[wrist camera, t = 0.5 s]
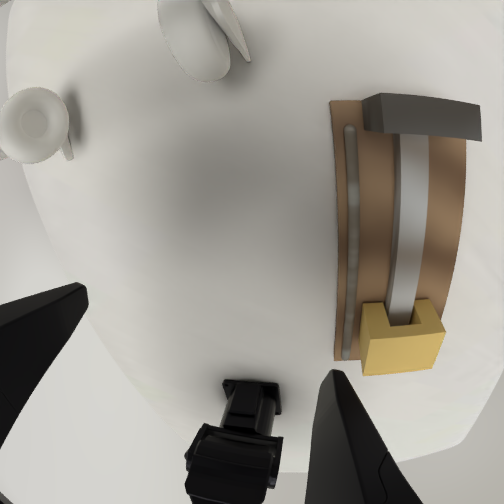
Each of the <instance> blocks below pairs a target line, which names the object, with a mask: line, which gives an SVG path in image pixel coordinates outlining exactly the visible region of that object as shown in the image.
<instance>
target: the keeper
mask: <svg viewBox="0 0 504 504" xmlns="http://www.w3.org/2000/svg"><path fill="white" fill-rule="evenodd" d="M445 333H446V331H445V329H444V327H443V325H442V322H441V320H440V318H439V316H438V314H437V312H436V310H435V308H434V307H433V305H432V303H431V301H430V299H424V300H414V305H413V309H412V314H411V318H410V322H409V325H404V326H392V327H390V324H389V321H388V317H387V314H386V311H385V308H384V304H383V302H382V303H363V306H362V315H361V323H360V331H359V338H358V342H359V349H360V356H361V364H362V373H363V376H371V375H383V374H394V373H403V372H411V371H418V370H425V369H432V367H433V364H434V362H435V360H436V357H437V355H438V352H439V350H440V347H441V344H442V342H443V339H444V336H445Z"/></svg>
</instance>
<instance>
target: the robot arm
mask: <svg viewBox="0 0 504 504" xmlns="http://www.w3.org/2000/svg"><path fill="white" fill-rule="evenodd" d="M88 305H89V302H88V295H87V288H86V286H85V285H83V284H80V283H78V282H75V283H72V284H68V285H65V286H62V287H58V288H55V289H52V290H48V291H45V292H41V293H38V294H35V295H31V296H28V297H25V298H22V299H18V300H15V301H12V302H9V303H5V304H2V305H0V449H1V446H2V445H3V443H4V441H5V439H6V437H7V435H8V433H9V431H10V430H11V428H12V426H13V424H14V423H15V421H16V419H17V417H18V416H19V414H20V412H21V410H22V409H23V407H24V405H25V404H26V402H27V400H28V399H29V397H30V396H31V394H32V392H33V391H34V389H35V388H36V386H37V385H38V383H39V382H40V380H41V378H42V377H43V376H44V374H45V372H46V371H47V369H48V368H49V366H50V365H51V364H52V362H53V361H54V359H55V358H56V356H57V355H58V354H59V352H60V351H61V349H62V348H63V347H64V345H65V344H66V342H67V341H68V340H69V338H70V337H71V335H72V333H73V332H74V330H75V328H76V326H77V325H78V323H79V322H80V320H81V318H82V317H83V315H84V313H85V312H86V310H87V308H88ZM222 385H223V388H224V391H225V394H226V397H227V400H228V401H227V405H226V408H225V411H224V414H223V417H222V420H221V423H220V426H219V427H216V426H211V425H209V424H206V423H204V424H203V425H202V427H201V428H200V429H199V431H198V433H197V435H196V437H195V438H194V440H193V442H192V444H191V446H190V448H189V449H188V450H187V452H186V453H185V455H184V457H185V459H186V470H187V471H188V472H189V473H188V476H187V479H186V481H185V489H186V493H187V494H188V495H189V496H190V499H191V501H192V504H262V503H263V501H264V499H265V495H266V491H267V488H269V489H274V488H275V484H276V480H277V475H278V471H279V465H280V458H281V451H282V444H283V437H279V436H278V437H273V436H271V432H272V426H273V421H274V415H281V412H282V410H281V400H280V391H279V385H278V384H275V383H257V382H242V381H231V380H224V381H223V383H222ZM273 456H274V457H273ZM0 504H13V503H12V502H10V501H9V500H8V499H7V498H6V497H5V496H4V495H3V494H2V493H1V492H0ZM305 504H423V503H422V501H421V500H420V499H419V497H418V496H417V494H416V493H415V492H414V490H413V489H412V488H411V486H410V485H409V483H408V482H407V480H406V479H405V477H404V476H403V475H402V473H401V471H400V470H399V468H398V466H397V465H396V463H395V461H394V459H393V458H392V456H391V454H390V452H389V451H388V449H387V447H386V445H385V443H384V442H383V440H382V438H381V436H380V434H379V433H378V431H377V429H376V427H375V426H374V424H373V422H372V420H371V419H370V417H369V415H368V413H367V411H366V410H365V408H364V406H363V404H362V403H361V401H360V399H359V397H358V396H357V394H356V392H355V391H354V389H353V387H352V385H351V384H350V382H349V380H348V378H347V377H346V375H345V373H344V372H343V371H340V370H335V369H332V370H330V371H329V373H328V374H327V376H326V377H325V379H324V380H323V382H322V384H321V386H320V390H319V395H318V401H317V406H316V412H315V417H314V422H313V428H312V439H311V451H310V462H309V471H308V481H307V489H306V497H305Z"/></svg>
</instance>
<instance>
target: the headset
mask: <svg viewBox="0 0 504 504" xmlns="http://www.w3.org/2000/svg"><path fill="white" fill-rule="evenodd" d="M9 1H10V0H0V7H1V6H2V5H4V4H6V3H7V2H9ZM157 10H158V17H159V22H160V26H161V29H162V32H163V35H164V38H165V40H166V42H167V45H168V47H169V49H170V51H171V53H172V54H173V56H174V58H175V59H176V61H177V62H178V64H179V65H180V67H181V68H182V69H183V70H184V72H185V73H186V74H187V75H189V76H190V77H191V78H193V79H194V80H197V81H199V82H214V81H217V80H220V79H221V78H223V77H224V76H225V75H226V74H227V73H228V71H229V69H230V52H229V46H228V41H227V37H228V38H229V40H230V41H231V42H232V44H233V45H234V46H235V47H236V48H237V49H238V50H239V51H240V52H241V54H242V55H243V57H244V58H245V60H246V61H247V62H250V61H251V58H250V55H249V52H248V49H247V45H246V42H245V39H244V36H243V33H242V30H241V27H240V25H239V22H238V19H237V17H236V15H235V13H234V11H233V9H232V7H231V5H230V3H229V1H228V0H158V4H157ZM226 35H227V37H226ZM68 130H69V115H68V111H67V108H66V106H65V104H64V102H63V101H62V100H61V98H60V97H59V96H58V95H57V94H55V93H54V92H52V91H50V90H48V89H45V88H41V87H32V88H27V89H24V90H21V91H19V92H18V93H16V94H14V95H13V96H12V97H11V98H10V99H9V100H8V101H7V102H6V103H5V104H4V106H3V107H2V109H1V111H0V160H3V159H6V158H8V157H10V158H11V159H13V160H14V161H17V162H20V163H25V164H34V163H39V162H42V161H44V160H46V159H48V158H50V157H51V156H52V155H54V154H55V153H56V152H57V151H58V150H59V149H60V150H61V152H62V154H63V157H64V159H65V160H66V161H69V160H72V159H73V153H72V149H71V146H70V142H69V139H68V136H67V134H68Z"/></svg>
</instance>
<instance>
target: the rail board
mask: <svg viewBox="0 0 504 504" xmlns="http://www.w3.org/2000/svg"><path fill="white" fill-rule="evenodd" d="M330 110H331V119H332V129H333V139H334V151H335V165H336V182H337V204H338V292H337V315H336V331H335V345H334V361H347V360H361V356H360V349H359V342H358V338H359V331H360V323H361V315H362V306H363V303H382V302H383V304H384V308H385V311H386V314H387V317H388V321H389V324H390V327H392V326H404V325H409V322H410V318H411V314H412V309H413V305H414V300H424V299H430V301H431V303H432V305H433V307H434V308H435V310H436V312H437V314H438V316H439V318H440V320H441V317H442V314H443V311H444V307H445V304H446V300H447V296H448V292H449V288H450V284H451V280H452V275H453V271H454V266H455V261H456V256H457V251H458V245H459V238H460V232H461V224H462V216H463V207H464V196H465V180H466V139H467V140H474V141H481V142H482V132H481V114H480V105H475V104H471V103H465V102H460V101H454V100H448V99H441V98H434V97H426V96H417V95H406V94H392V93H379V94H376V95H374V96H371V97H369V98H366V99H364V100H361V101H330Z"/></svg>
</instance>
